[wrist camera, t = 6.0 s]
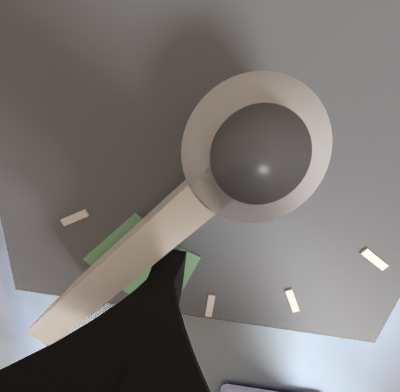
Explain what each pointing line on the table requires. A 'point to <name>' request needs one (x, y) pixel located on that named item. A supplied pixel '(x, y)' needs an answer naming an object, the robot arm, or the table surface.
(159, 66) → the dial base
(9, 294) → the table surface
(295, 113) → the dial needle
